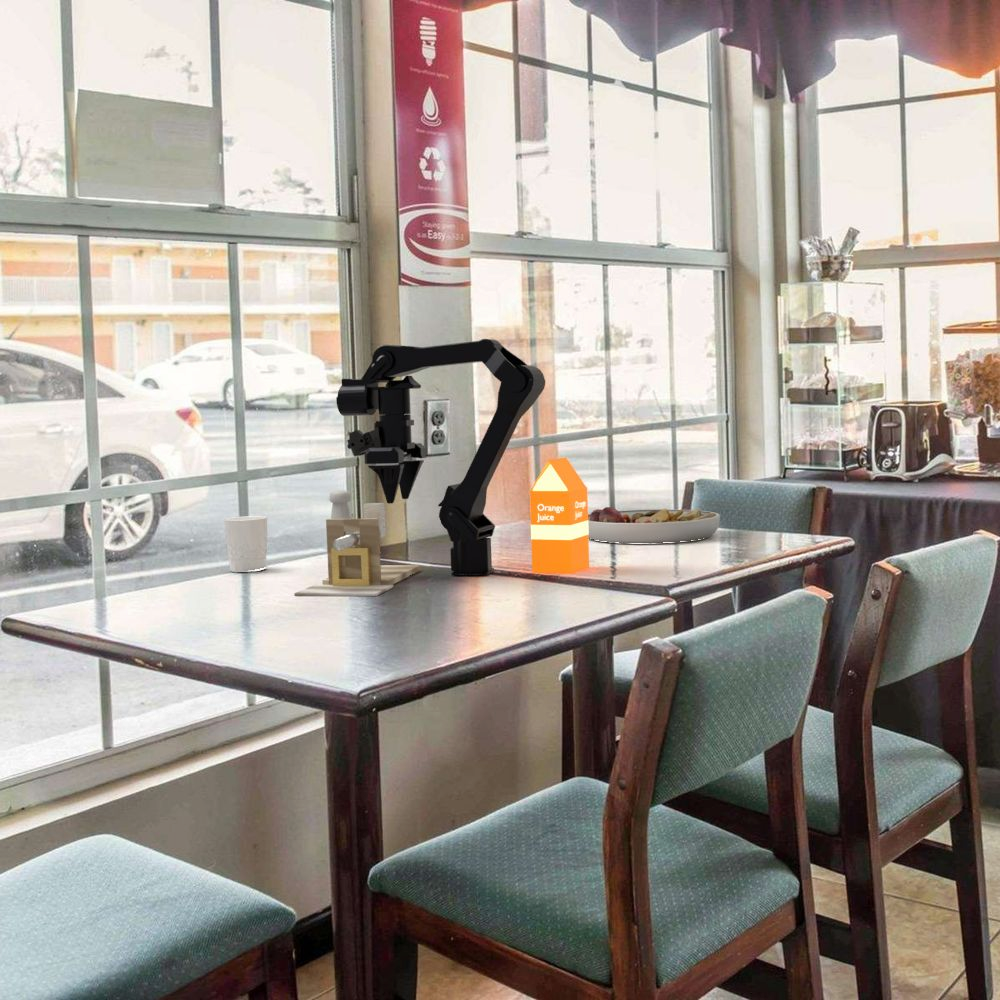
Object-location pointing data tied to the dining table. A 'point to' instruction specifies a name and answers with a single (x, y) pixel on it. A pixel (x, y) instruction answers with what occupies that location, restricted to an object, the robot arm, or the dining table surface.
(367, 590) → the wooden latch stand
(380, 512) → the shaft
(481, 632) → the dining table surface
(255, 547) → the white cup
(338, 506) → the salt shaker
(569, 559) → the orange juice
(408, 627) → the dining table surface
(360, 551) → the frame
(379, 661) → the dining table surface
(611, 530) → the bowl
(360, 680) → the dining table surface
